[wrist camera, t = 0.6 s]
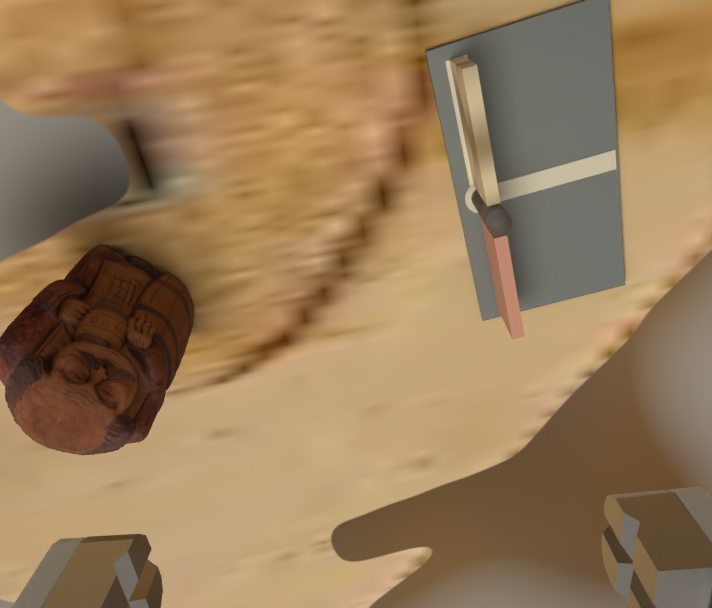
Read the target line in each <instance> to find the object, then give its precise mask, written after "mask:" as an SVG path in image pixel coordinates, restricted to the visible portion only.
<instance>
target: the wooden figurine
mask: <svg viewBox="0 0 712 608" xmlns="http://www.w3.org/2000/svg"><path fill="white" fill-rule="evenodd" d="M192 325H193V306H192V303H191V300H190V296H189V294H188V292H187V291H186V289H185V287H184V286H183V285H182V283H181V282H180V281H179V280H178V279H177V278H176V277H175V276H173V275H172V274H170V273H167V274H164V275H163V274H160V273H159V272H157V271H156V270H155V269H154V268H153V267H152V266H151V265H149V264H146V263H145V262H144V261H143V260H141V259H140V258H138V257H134V256H130V257H127V258H124V257H123V256H121V255H120V254H118V253H116V252H114V251H113V250H112V249H110V248H107V247H105V246H103V245H99V246H97V247H95V248H93V249H92V250H91V251H90V252H88V253H87V254H86V255H85V256H84V257H83V258H82V259H81V260H80V261H79V262H78V263H77V264H76V265H75V267H74V268H73V269H72V270H71V271H70V272H69V273H68V275H67V276H66V277H65V279H64V280H57V281H54V282H53V283H51V284H49V285H48V286H46V287H45V288H44V289H43V290H42V291H41V292H40V293H39V294H38V295H37V296H36V297H35V298H34V299H33V301H32V302H31V303H30V304H29V305H28V306H27V307H26V308H25V309H24V310H23V311H22V312H21V313H20V314H19V315H18V316H17V317H16V319H15V320H14V321H13V322H12V323H11V324H10V325H9V326H8V327H7V329H6V330H5V332H4V333H3V334H2V336H1V337H0V380H1V381H2V383H3V384H4V386H5V387H6V388H5V399H6V402H7V403H8V408H9V409H10V411H11V413H12V415H13V417H14V421H15V422H16V423H17V424H18V425H19V426H20V427H21V429H22V430H23V432H24V433H25V434H27V435H28V436H29V437H30V438H31V439H33V440H34V441H36V442H37V443H39V444H41V445H43V446H45V447H48V448H51V449H54V450H58V451H62V452H67V453H72V454H79V455H93V454H100V453H107V452H112V451H115V450H118V449H120V447H123V446H124V445H125V444H128V443H136V442H141V441H142V440H144V439H145V438H146V437H147V435H148V433H149V431H150V429H151V426H152V424H153V422H154V419H155V417H156V415H157V413H158V411H159V410H160V408H161V406H162V404H163V402H164V398H165V393H166V390H167V389H168V388H169V387H170V385H171V383H172V381H173V379H174V376H175V374H176V371H177V369H178V367H179V365H180V362H181V360H182V357H183V355H184V352H185V349H186V346H187V343H188V339H189V337H190V334H191V330H192Z"/></svg>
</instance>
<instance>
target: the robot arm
mask: <svg viewBox="0 0 712 608" xmlns="http://www.w3.org/2000/svg"><path fill="white" fill-rule="evenodd" d="M604 514H605V516H606V518H607V520H608V521H609V523H610V525H609V526H608V527H607V528H606V529H605V530H604V531H603V532H602V553H603V559H604V564H605V567H606V570H607V573H608V576H609V579H610V581H611V583H612V585H613V587H614V590H615V591H616V592H617V593H619V594H620V595H621V596H623V597H624V598H626V599H627V600H628V608H712V498H711V497H710V495H709V494H708V493H707V492H706V491H705V490H703V489H702V488H700V487H693V488H682V489H672V490H668V491H665V490H663V491H652V492H640V493H629V494H618V495H608V497H607V499H606V501H605V508H604ZM150 552H151V546H150V544H149V542H148V539H147V537H146V535H142V534H129V535H111V536H92V537H86V538H66V539H60V540H58V541H57V542H55V543H54V544H53V545H52V546H51V547H50V549H49V550H48V552H47V554H46V555H45V557H44V558H43V560H42V561H41V563H40V564H39V566H38V568H37V569H36V571H35V572H34V574H33V575H32V577H31V578H30V580H29V582H28V583H27V585H26V586H25V588H24V589H23V591H22V592H21V594H20V596H19V597H18V599H17V600H16V602H15V603H14V605H13V607H12V608H161V601H162V593H163V588H162V578H161V575H160V572H159V569H158V567H157V566H156V565H154V564H153V563H152V562H150V561H149V560H148V556H149V554H150Z"/></svg>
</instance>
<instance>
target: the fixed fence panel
mask: <svg viewBox="0 0 712 608" xmlns="http://www.w3.org/2000/svg"><path fill="white" fill-rule="evenodd" d="M449 61H450V66H451V71H452V76H453V81H454V86H455V92H456V97H457V102H458V107H459V112H460V117H461V123H462V128H463V133H464V138H465V143H466V148H467V154H468V159H469V164H470V169H471V174H472V179H473V184H474V187H475V188H476V190H475V191H474V192H473V194H472V197H471V200H472V203H473V205H474V206H475V208H476V210H477V212H478V213H479V215H480V217H481V219H482V220H483V222H484V224H485V225H486V227H487V229H488V231H489V232H490V233H491V234H492V235H495V236H502V235H504V234H506V233H507V232H508V231H509V230H510V229H511V226H512V219H511V217H510V216H509V215H508V213H507V212H506V210H505V209H504V207H503V206H502V205H501V202H500V196H499V191H498V185H497V179H496V173H495V167H494V161H493V155H492V150H491V144H490V138H489V132H488V126H487V120H486V115H485V109H484V103H483V97H482V91H481V85H480V80H479V74H478V68H477V64H475V63H474V62H472V61H470V60H469V59H467V58H466V57H464V56H460V57H458V58H454V59H451V60H449Z"/></svg>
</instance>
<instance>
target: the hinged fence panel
mask: <svg viewBox="0 0 712 608" xmlns="http://www.w3.org/2000/svg"><path fill="white" fill-rule="evenodd" d="M480 218H481V217H480ZM481 223H482V228H483V234H484V239H485V244H486V249H487V254H488V259H489V265H490V270H491V275H492V280H493V285H494V290H495V296H496V301H497V306H498V310H499V312H500V314H501V316H502V318H503V320H504V322H505V324H506V327H507V329H508V331H509V333H510V335H511V337H512V339H515V338H519V337H523V336H524V331H523V326H522V320H521V314H520V308H519V302H518V296H517V290H516V284H515V279H514V273H513V267H512V261H511V255H510V249H509V243H508V237H507V234H504V235H502V236H495V235H492V234H491V233H490V232H489V231H488V229H487V227H486V225H485V224H484V222H483V220H482V219H481Z"/></svg>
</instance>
